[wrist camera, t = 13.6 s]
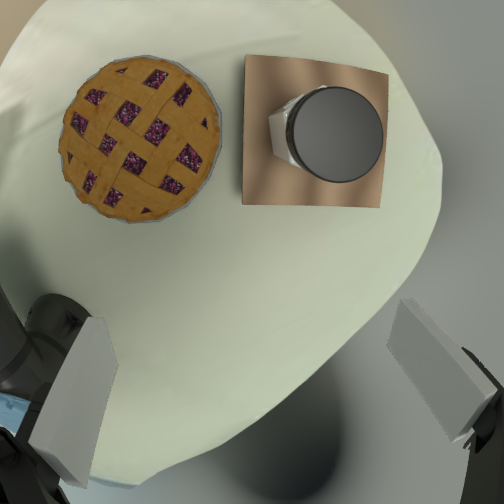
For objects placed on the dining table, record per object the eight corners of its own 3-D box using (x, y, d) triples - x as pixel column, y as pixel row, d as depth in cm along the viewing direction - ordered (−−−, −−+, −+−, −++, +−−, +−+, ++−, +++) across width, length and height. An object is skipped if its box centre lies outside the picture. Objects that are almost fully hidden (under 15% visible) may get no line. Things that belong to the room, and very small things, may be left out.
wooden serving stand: (240, 195, 41) (242, 204, 36) (243, 63, 34) (245, 54, 29) (364, 199, 42) (379, 208, 38) (371, 78, 35) (388, 74, 31)
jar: (312, 83, 31) (352, 65, 20) (350, 138, 34) (403, 146, 23) (251, 126, 32) (265, 125, 21) (293, 181, 35) (325, 206, 24)
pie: (172, 243, 42) (166, 257, 38) (50, 175, 37) (32, 182, 32) (253, 106, 36) (257, 102, 32) (116, 39, 30) (104, 29, 26)
